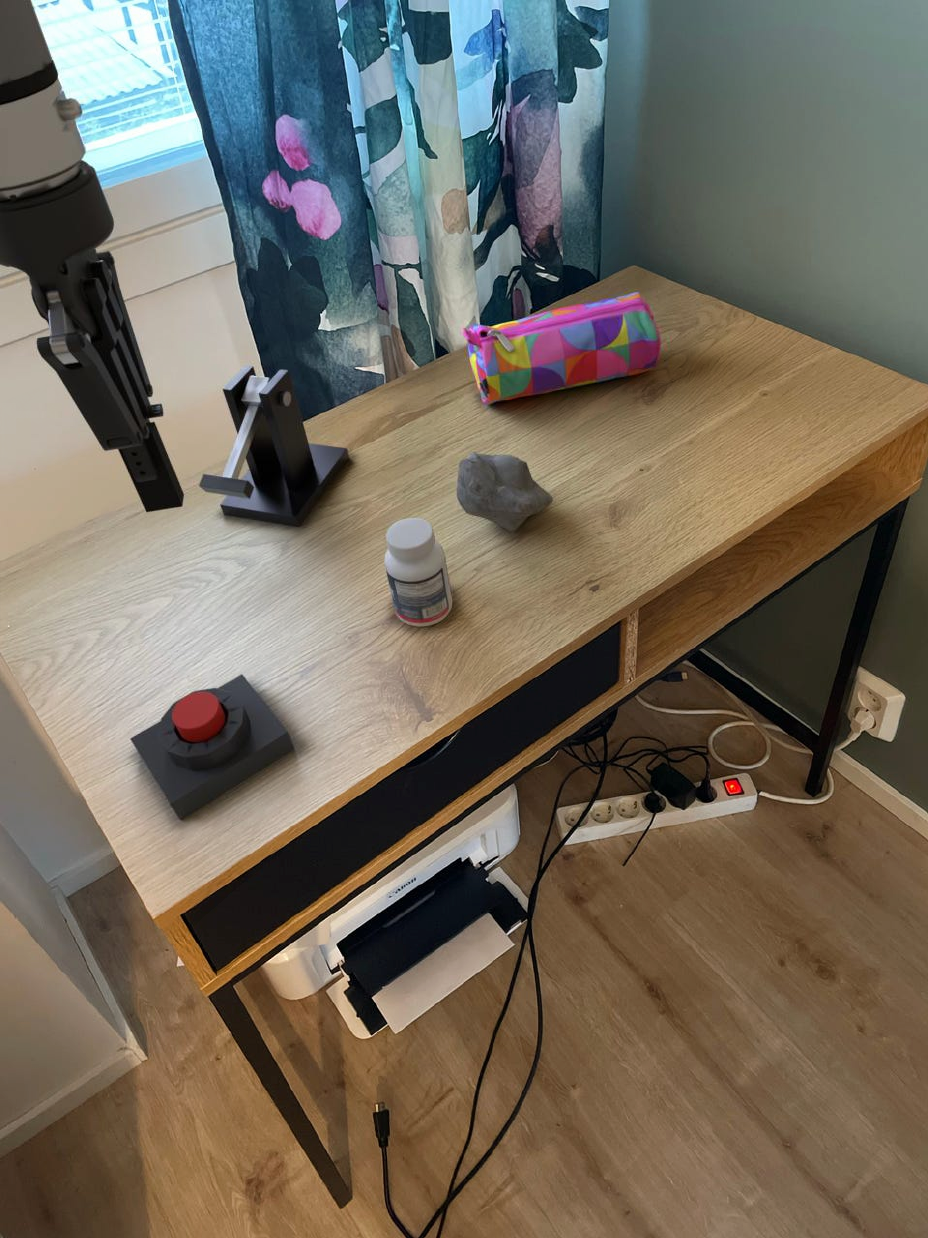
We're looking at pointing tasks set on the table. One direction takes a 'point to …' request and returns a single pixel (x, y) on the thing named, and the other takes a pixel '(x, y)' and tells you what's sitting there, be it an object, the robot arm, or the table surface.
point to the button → (198, 717)
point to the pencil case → (564, 348)
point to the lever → (239, 446)
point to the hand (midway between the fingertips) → (165, 503)
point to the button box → (213, 749)
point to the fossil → (499, 489)
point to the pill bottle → (417, 573)
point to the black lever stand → (280, 455)
